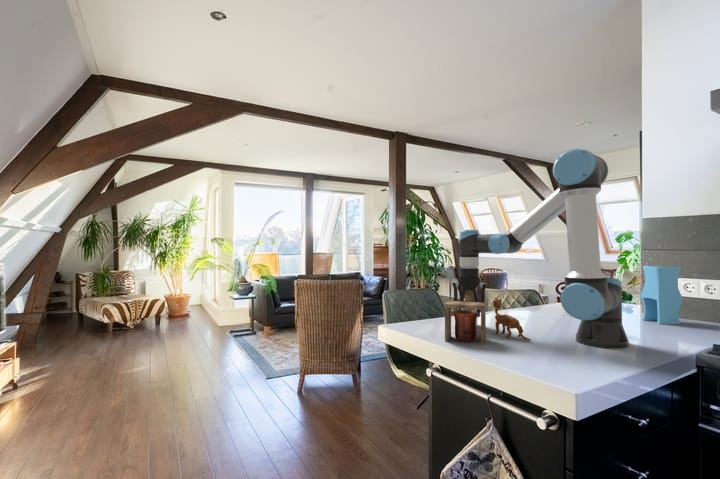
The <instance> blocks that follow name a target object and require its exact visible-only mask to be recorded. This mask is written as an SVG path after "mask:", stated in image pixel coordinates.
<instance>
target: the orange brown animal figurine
mask: <svg viewBox="0 0 720 479" xmlns="http://www.w3.org/2000/svg"><path fill="white" fill-rule="evenodd" d="M502 301H503V300H502V298H500V299H498V298H497V297H495V298H494V300H492V305H493V307H494V308H496V309H495V310H494V313H495V316H494V319H495V333H494V335H496V334H497V335H499V333H500V325H501V326H502V331H501V333H502V335H503V334H505V333H506V331H507V332H508V333H507V335H506V336H505V338H507V339H510V337H511V336H512V330H513V329H516V330H517V332H518V334H517V335H516V336H517V337H518V338H522V339H523V340H525V341H526V340H527V341H529V342H530V341H532V339H531V338H529V337H526V336H525V335H523V333H524V329H523V327H522V326H521V324H520V321H519V320H518V319H517V318H516V317H514V316H510V315H508V314H500V313H498V312H499V309H501V308H502Z"/></svg>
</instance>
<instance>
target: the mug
mask: <svg viewBox="0 0 720 479" xmlns="http://www.w3.org/2000/svg"><path fill="white" fill-rule="evenodd" d="M452 314H453V317H454V337H455V339H456V340H457V341H458V342H460V343H461V342H462V343H473V342H475V341H476V338H477V326H476V319H477V320H478V317H477V315H478V312H477V311H473V310H465V309H464V310H459V309H455V310H452Z"/></svg>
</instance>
